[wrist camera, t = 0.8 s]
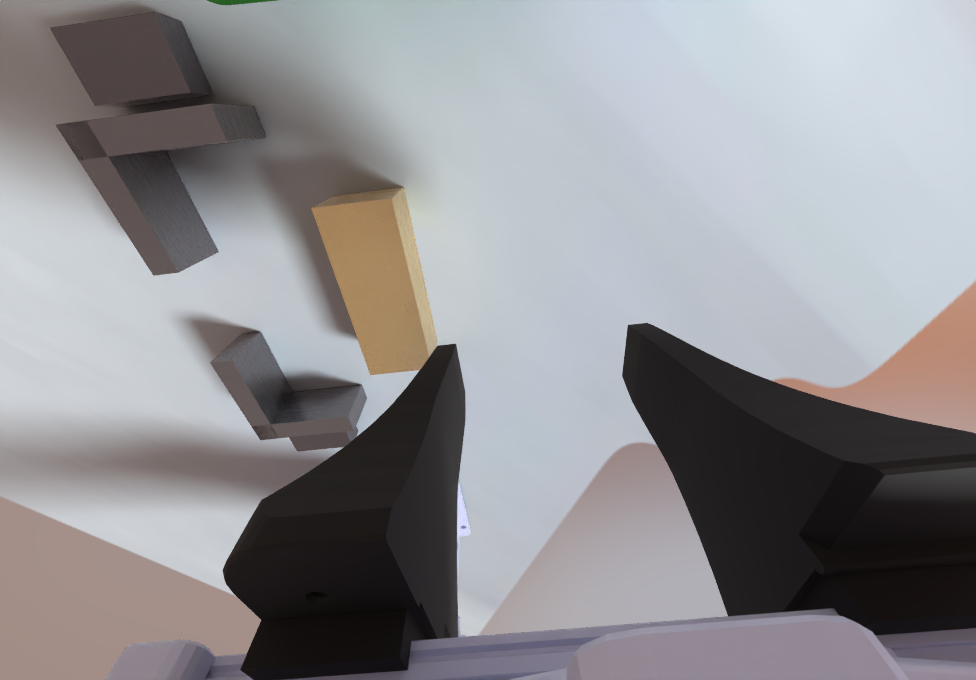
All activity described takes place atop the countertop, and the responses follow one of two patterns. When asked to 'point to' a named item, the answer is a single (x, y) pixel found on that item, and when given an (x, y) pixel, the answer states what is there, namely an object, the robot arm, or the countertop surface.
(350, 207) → the light wood block
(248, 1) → the green angular piece
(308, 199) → the countertop surface
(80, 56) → the chain end blocks
